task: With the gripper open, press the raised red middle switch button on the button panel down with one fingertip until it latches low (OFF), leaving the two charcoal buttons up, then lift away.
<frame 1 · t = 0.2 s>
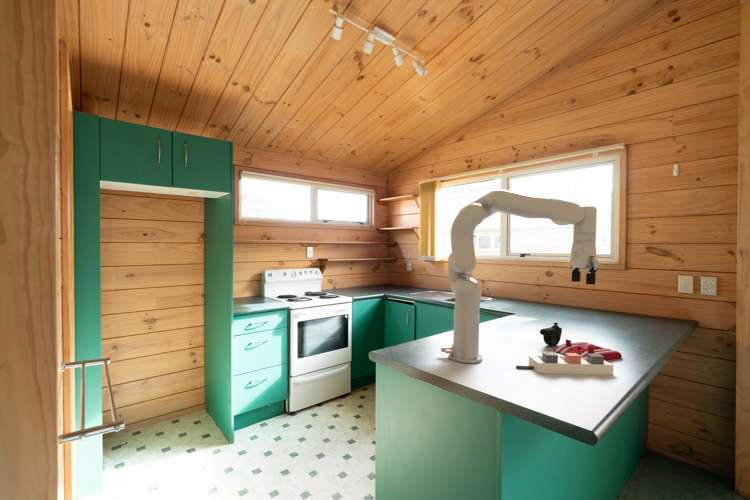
hand: (582, 282, 138), 31 cm above the worktop, tool pointing down, fingers open, 9 cm apart
button 1: (550, 358, 127), point 5 cm above the worktop, slide at 0.0 cm
button panel: (569, 369, 129), on the worktop
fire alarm: (586, 356, 147), on the worktop
button 2: (572, 358, 127), point 5 cm above the worktop, slide at 0.0 cm
button 3: (595, 359, 127), point 5 cm above the worktop, slide at 0.0 cm
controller: (550, 346, 160), on the worktop
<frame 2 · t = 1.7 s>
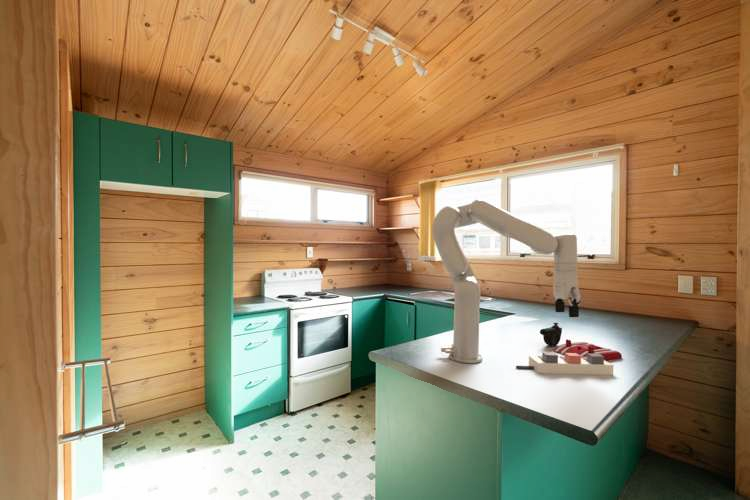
hand: (566, 314, 130), 20 cm above the worktop, tool pointing down, fingers open, 9 cm apart
nothing on the worktop moved.
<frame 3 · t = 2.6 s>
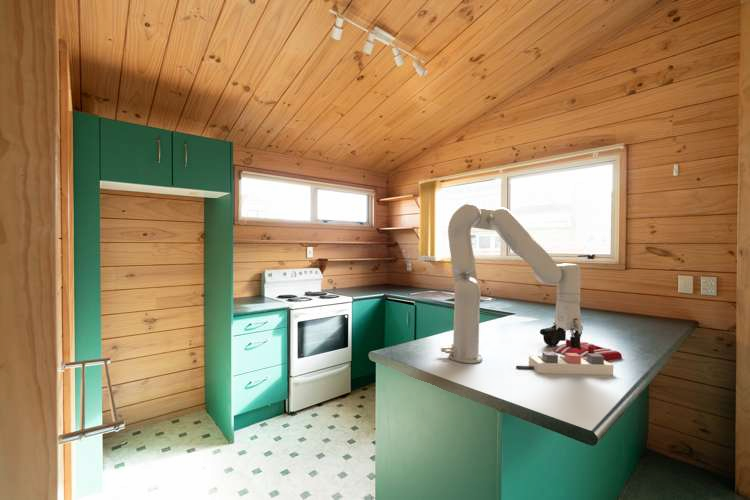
hand: (567, 344, 131), 9 cm above the worktop, tool pointing down, fingers open, 9 cm apart
nothing on the worktop moved.
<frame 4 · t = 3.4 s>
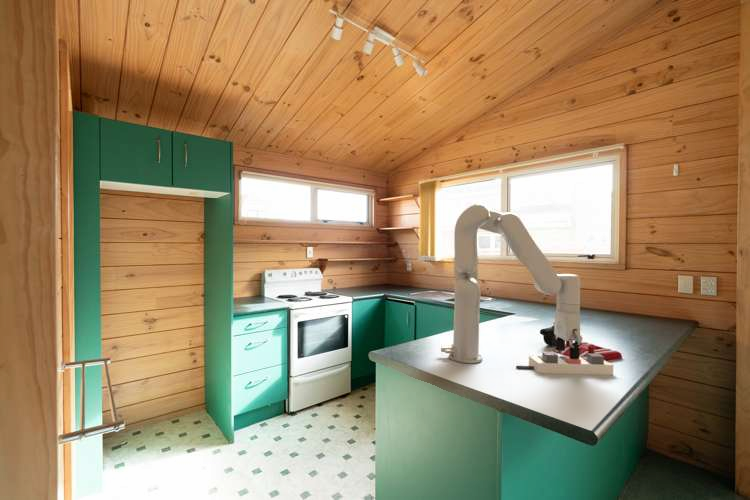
hand: (567, 354, 131), 5 cm above the worktop, tool pointing down, fingers open, 9 cm apart
button 2: (572, 362, 127), point 3 cm above the worktop, slide at 1.3 cm, touching gripper
everything else where it was.
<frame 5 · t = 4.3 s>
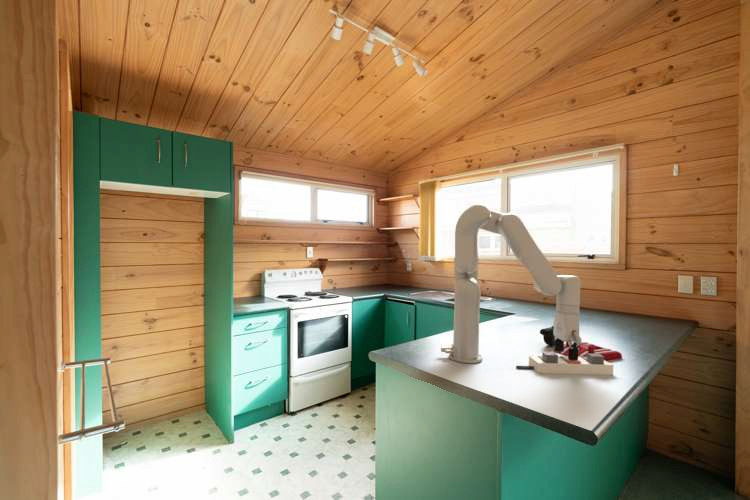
hand: (565, 355, 131), 4 cm above the worktop, tool pointing down, fingers open, 9 cm apart
button 2: (572, 364, 127), point 3 cm above the worktop, slide at 1.9 cm
everything else where it was.
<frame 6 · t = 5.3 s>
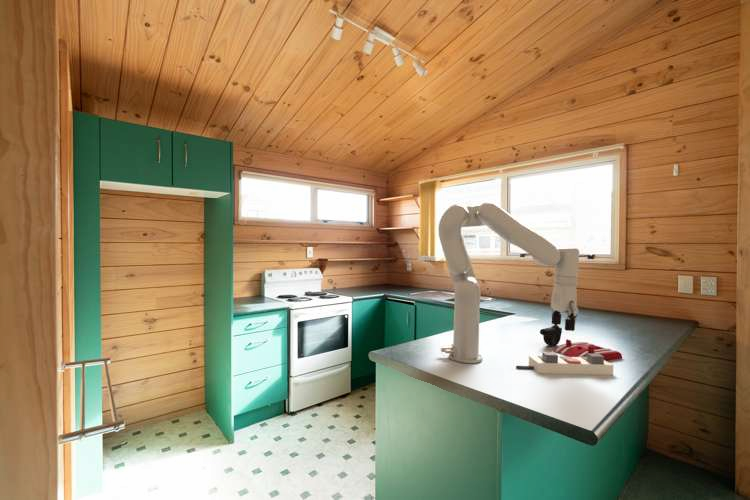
hand: (562, 327, 132), 15 cm above the worktop, tool pointing down, fingers open, 9 cm apart
nothing on the worktop moved.
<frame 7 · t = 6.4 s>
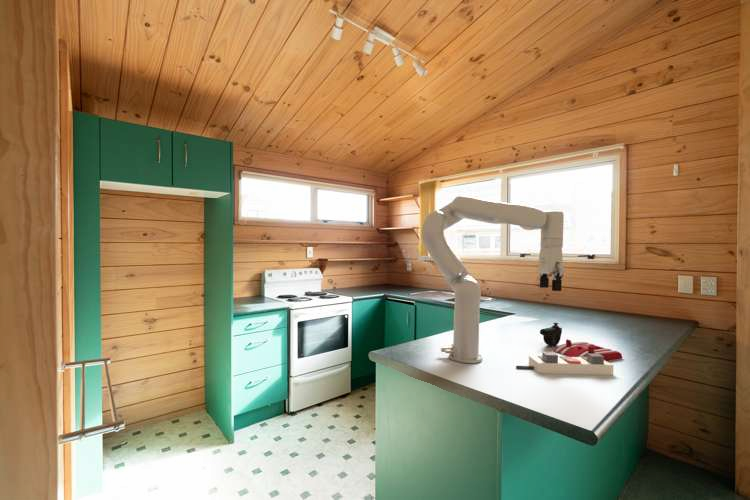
hand: (550, 289, 134), 28 cm above the worktop, tool pointing down, fingers open, 9 cm apart
nothing on the worktop moved.
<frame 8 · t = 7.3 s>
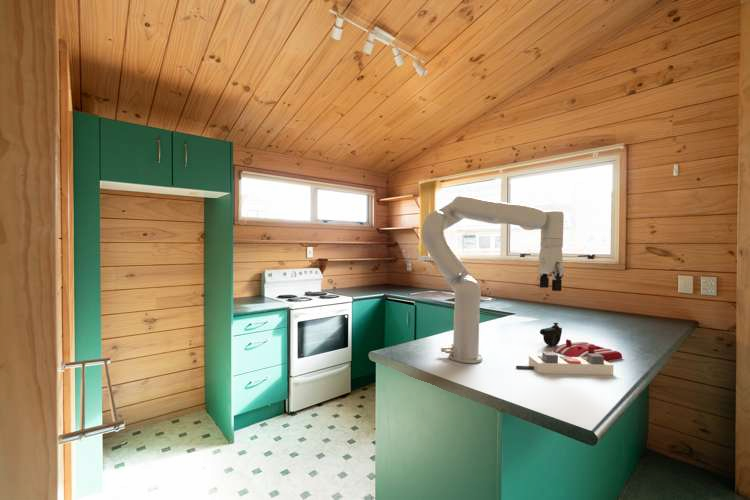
hand: (550, 289, 134), 28 cm above the worktop, tool pointing down, fingers open, 9 cm apart
nothing on the worktop moved.
at the end: button 2 slide at 1.9 cm; button 1 slide at 0.0 cm; button 3 slide at 0.0 cm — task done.
